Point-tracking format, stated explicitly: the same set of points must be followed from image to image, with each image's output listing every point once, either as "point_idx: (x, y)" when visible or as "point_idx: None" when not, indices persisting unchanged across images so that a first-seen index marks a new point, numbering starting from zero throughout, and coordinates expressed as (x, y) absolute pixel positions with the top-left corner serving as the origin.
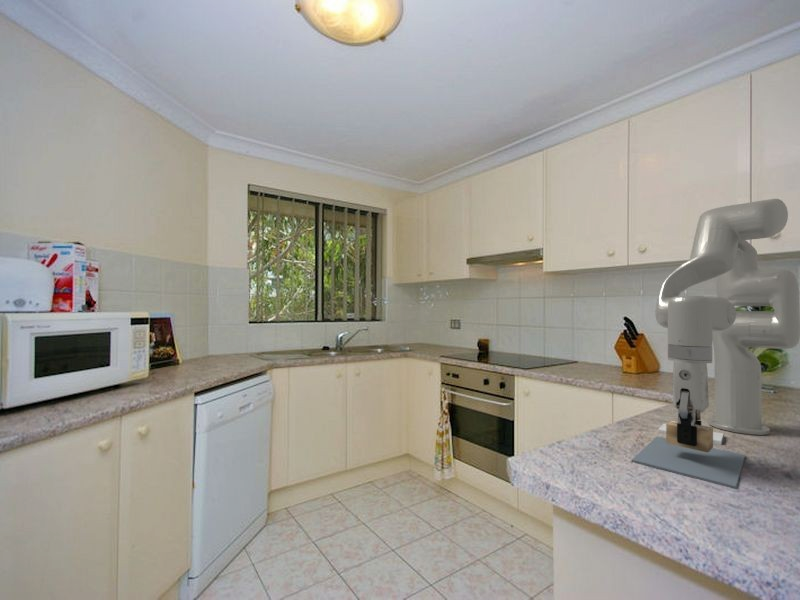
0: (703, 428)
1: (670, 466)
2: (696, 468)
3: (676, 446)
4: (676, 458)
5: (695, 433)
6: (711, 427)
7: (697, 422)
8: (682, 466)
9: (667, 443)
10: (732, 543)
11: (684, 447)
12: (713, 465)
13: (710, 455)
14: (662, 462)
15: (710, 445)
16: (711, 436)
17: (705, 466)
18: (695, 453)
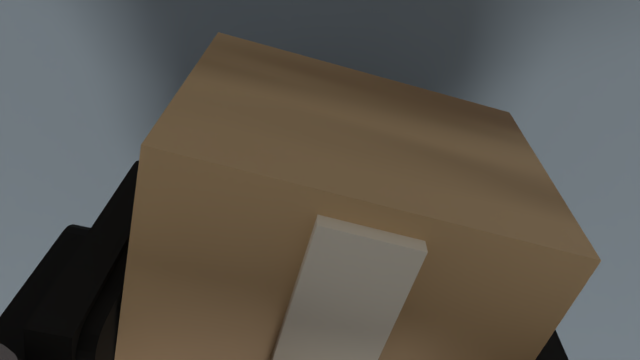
0: (406, 302)
1: (635, 299)
2: (608, 156)
3: (58, 234)
4: None
5: (549, 350)
6: (150, 167)
7: (98, 355)
8: (600, 236)
9: (23, 281)
10: None
11: (29, 182)
12: (446, 19)
13: (115, 3)
14: (568, 333)
15: (382, 97)
16: (315, 125)
17: (515, 87)
18: (152, 119)
